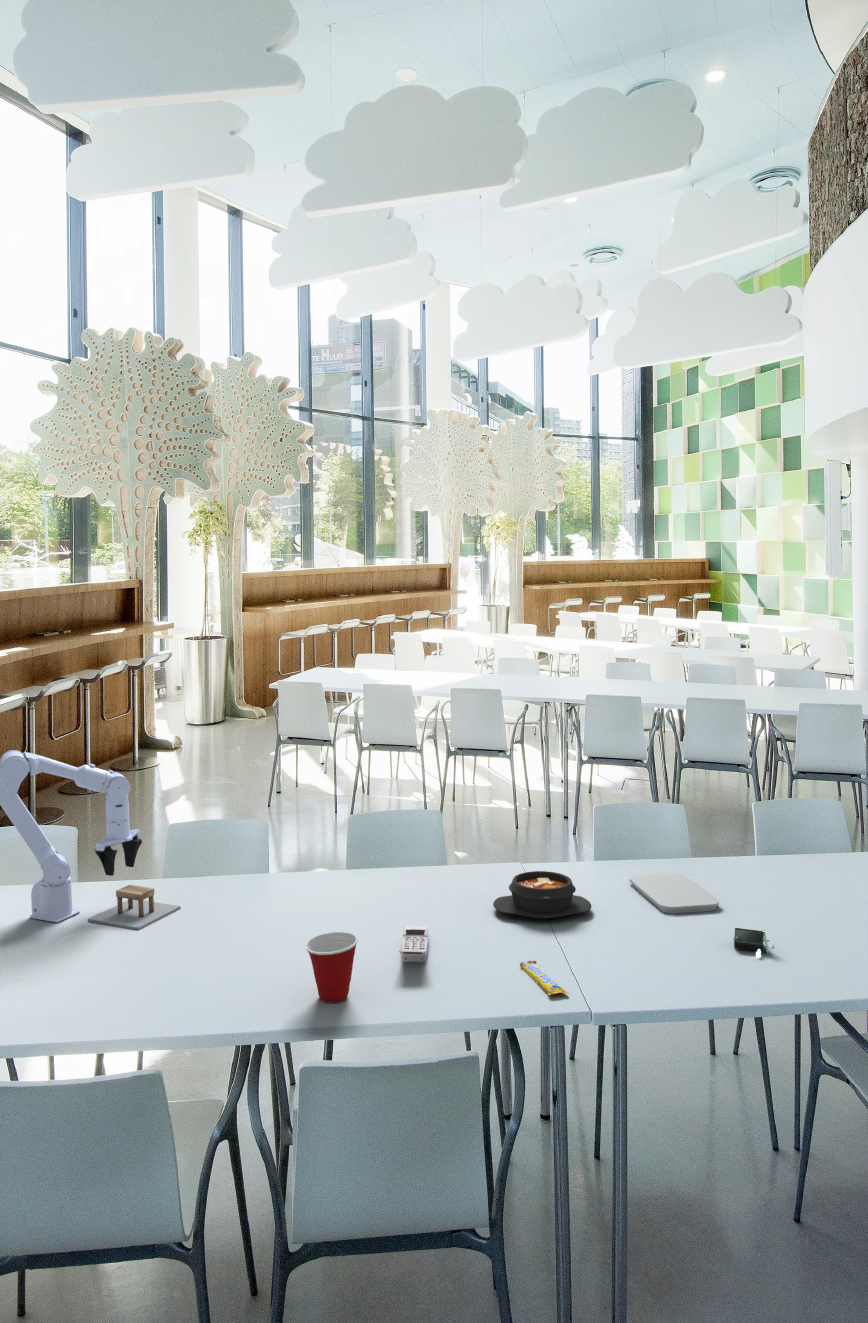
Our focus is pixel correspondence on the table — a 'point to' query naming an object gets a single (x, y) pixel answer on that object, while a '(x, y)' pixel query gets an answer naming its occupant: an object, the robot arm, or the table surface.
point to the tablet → (674, 892)
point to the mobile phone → (414, 944)
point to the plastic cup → (332, 963)
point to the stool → (135, 898)
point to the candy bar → (542, 978)
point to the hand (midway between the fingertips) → (119, 870)
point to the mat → (134, 915)
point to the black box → (750, 940)
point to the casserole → (542, 896)
